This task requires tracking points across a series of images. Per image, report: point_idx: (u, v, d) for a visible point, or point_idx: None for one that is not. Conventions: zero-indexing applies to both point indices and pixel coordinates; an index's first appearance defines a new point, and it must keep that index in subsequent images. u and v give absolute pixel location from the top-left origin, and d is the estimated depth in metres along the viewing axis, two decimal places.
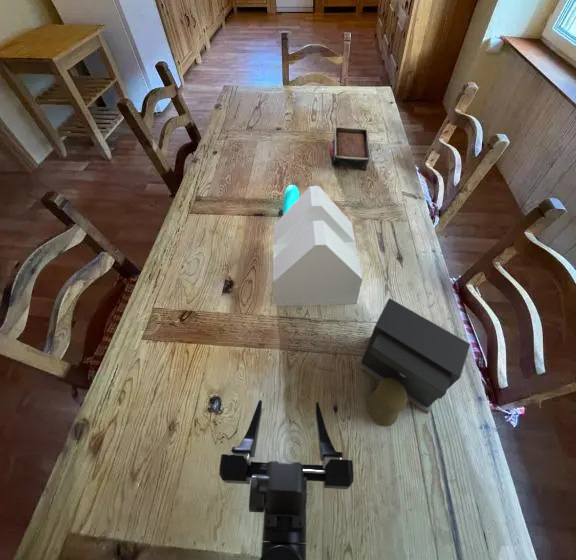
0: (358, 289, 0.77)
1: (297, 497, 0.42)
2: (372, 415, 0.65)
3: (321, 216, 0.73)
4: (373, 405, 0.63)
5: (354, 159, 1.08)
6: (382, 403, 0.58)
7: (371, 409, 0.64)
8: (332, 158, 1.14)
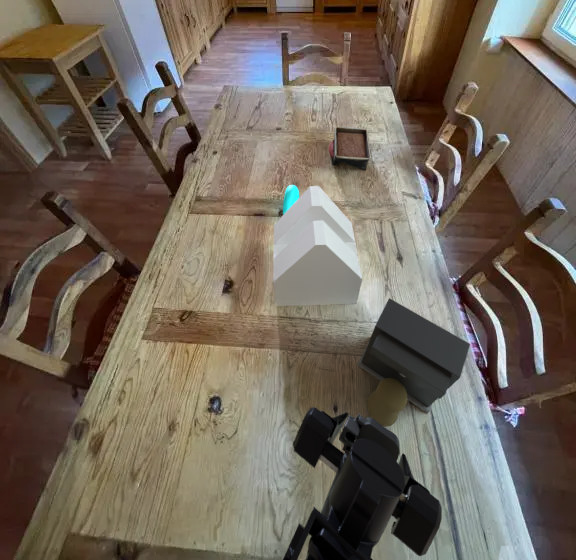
0: (358, 289, 0.77)
1: (391, 454, 0.40)
2: (372, 415, 0.65)
3: (321, 216, 0.73)
4: (373, 405, 0.63)
5: (354, 159, 1.08)
6: (382, 403, 0.58)
7: (371, 409, 0.64)
8: (332, 158, 1.14)
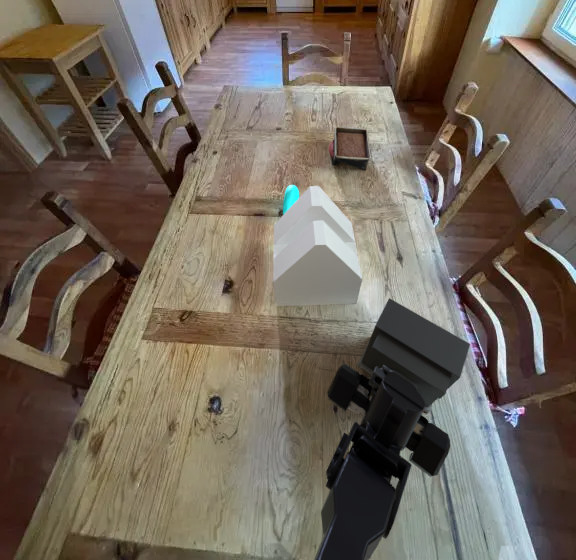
0: (358, 289, 0.77)
1: None
2: None
3: (321, 216, 0.73)
4: None
5: (354, 159, 1.08)
6: None
7: None
8: (332, 158, 1.14)
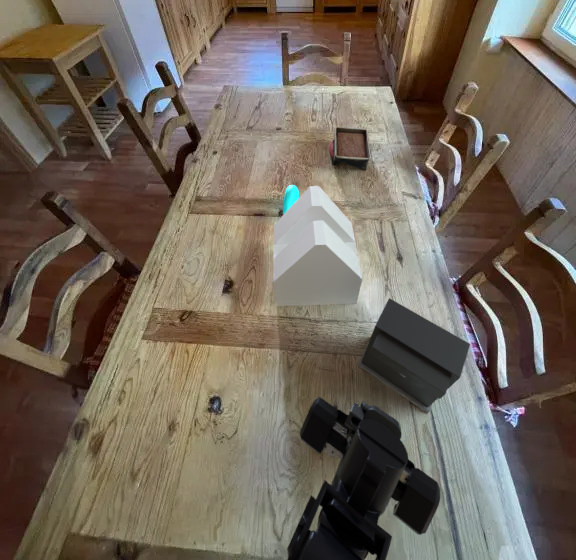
0: (358, 289, 0.77)
1: None
2: None
3: (321, 216, 0.73)
4: None
5: (354, 159, 1.08)
6: None
7: None
8: (332, 158, 1.14)
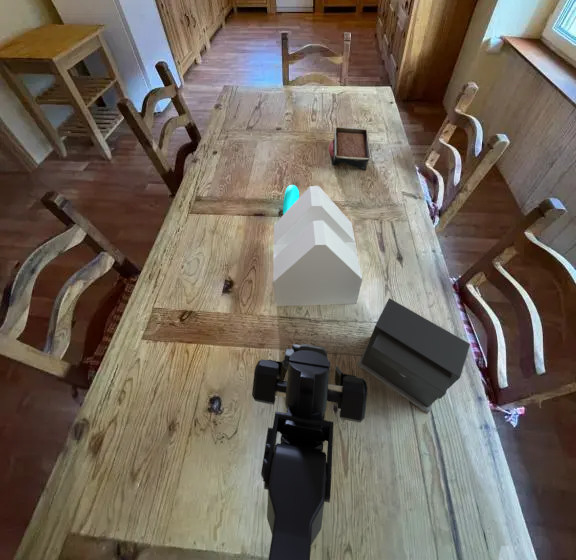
0: (358, 289, 0.77)
1: None
2: None
3: (321, 216, 0.73)
4: None
5: (354, 159, 1.08)
6: None
7: None
8: (332, 158, 1.14)
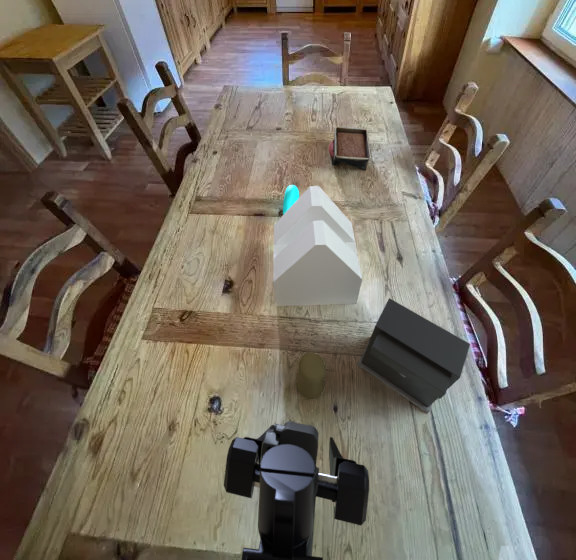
0: (358, 289, 0.77)
1: (311, 447, 0.42)
2: (303, 394, 0.67)
3: (321, 216, 0.73)
4: (300, 384, 0.66)
5: (354, 159, 1.08)
6: (305, 379, 0.61)
7: (300, 389, 0.67)
8: (332, 158, 1.14)
